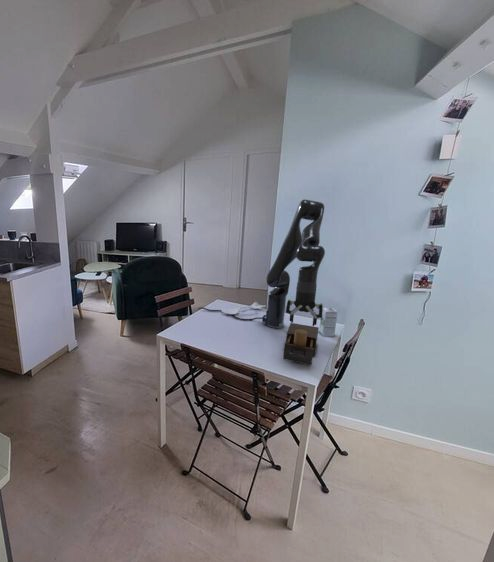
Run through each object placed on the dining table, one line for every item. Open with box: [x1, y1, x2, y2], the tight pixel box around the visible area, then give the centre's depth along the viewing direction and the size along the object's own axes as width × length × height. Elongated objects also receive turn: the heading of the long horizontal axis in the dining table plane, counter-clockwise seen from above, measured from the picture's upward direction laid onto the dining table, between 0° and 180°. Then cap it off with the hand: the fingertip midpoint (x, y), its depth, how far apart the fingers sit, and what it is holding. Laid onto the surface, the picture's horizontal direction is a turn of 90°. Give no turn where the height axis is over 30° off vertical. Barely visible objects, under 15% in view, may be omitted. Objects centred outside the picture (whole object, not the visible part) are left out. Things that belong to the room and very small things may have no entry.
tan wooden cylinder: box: [294, 329, 307, 347], centre depth 146 cm, size 5×5×12 cm
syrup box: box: [318, 307, 338, 337], centre depth 170 cm, size 6×6×14 cm
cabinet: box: [285, 322, 320, 357], centre depth 157 cm, size 15×13×10 cm
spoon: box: [221, 301, 267, 316], centre depth 210 cm, size 9×32×4 cm, turn 111°
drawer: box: [282, 335, 314, 366], centre depth 146 cm, size 18×11×8 cm, turn 145°
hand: (302, 323), depth 143 cm, fingers open, 8 cm apart
